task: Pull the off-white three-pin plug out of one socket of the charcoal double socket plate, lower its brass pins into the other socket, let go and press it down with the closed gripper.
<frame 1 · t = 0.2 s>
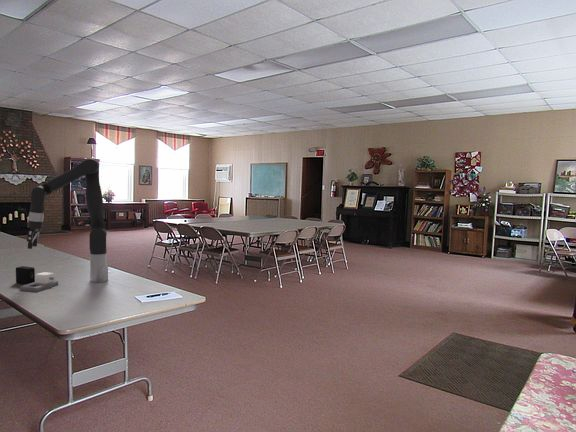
hand: (32, 247, 240), 22 cm above the table, tool pointing down, fingers open, 8 cm apart
plug: (44, 285, 238), resting in socket plate
electronic device: (25, 284, 241), on the table
socket plate: (39, 288, 234), on the table
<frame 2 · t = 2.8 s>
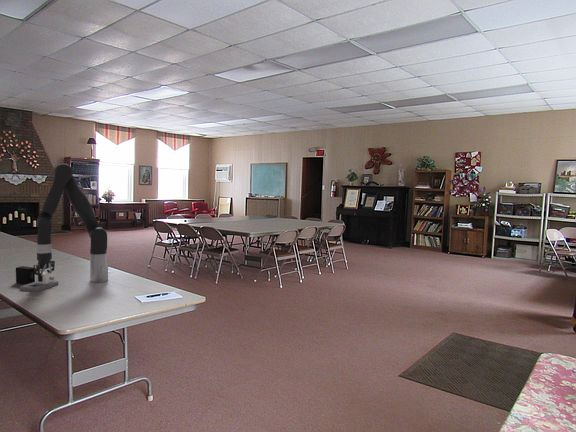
hand: (44, 280, 237), 4 cm above the table, tool pointing down, fingers closed on plug, 6 cm apart
plug: (44, 285, 238), resting in socket plate, touching gripper
everything else where it was.
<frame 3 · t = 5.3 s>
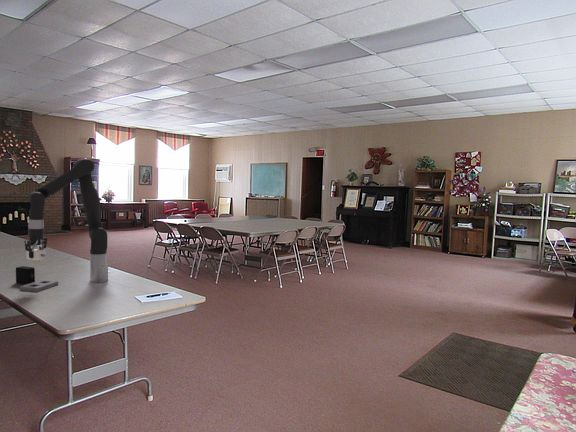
hand: (36, 257, 231), 18 cm above the table, tool pointing down, fingers closed on plug, 6 cm apart
plug: (36, 262, 231), point 15 cm above the table, touching gripper
everything else where it was.
when the fingers open (5 cm above the table, at t = 7.8 s): plug stays where it is, resting on socket plate.
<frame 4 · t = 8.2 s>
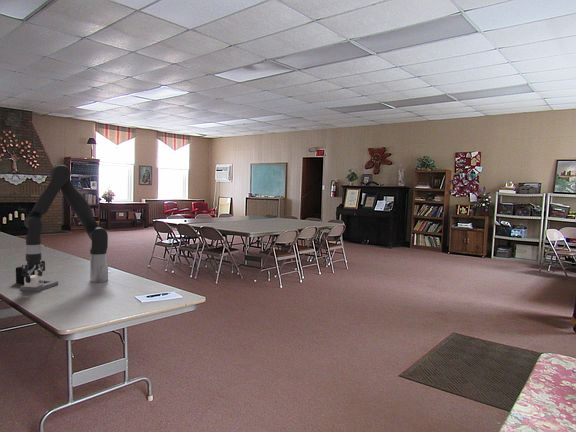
hand: (34, 280, 229), 5 cm above the table, tool pointing down, fingers open, 8 cm apart
plug: (34, 289, 230), resting on socket plate
everything else where it was.
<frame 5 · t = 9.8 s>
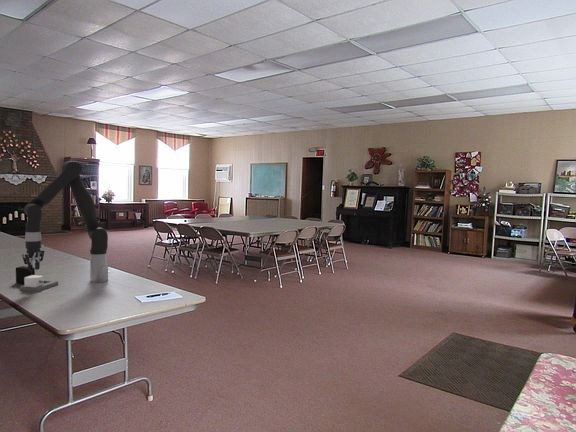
hand: (33, 270, 229), 11 cm above the table, tool pointing down, fingers open, 4 cm apart
nothing on the table moved.
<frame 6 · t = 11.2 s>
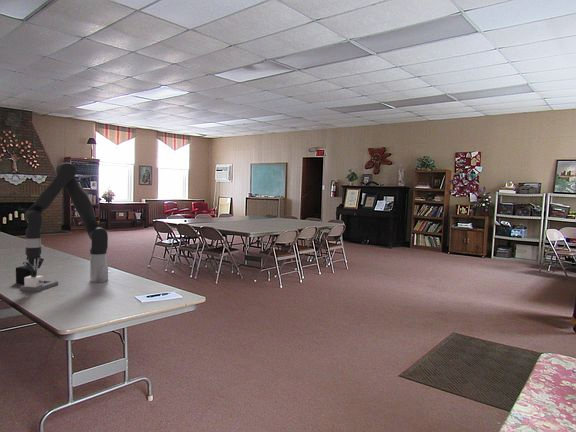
hand: (33, 276, 229), 7 cm above the table, tool pointing down, fingers closed
plug: (34, 289, 230), resting on socket plate, touching gripper
everything else where it was.
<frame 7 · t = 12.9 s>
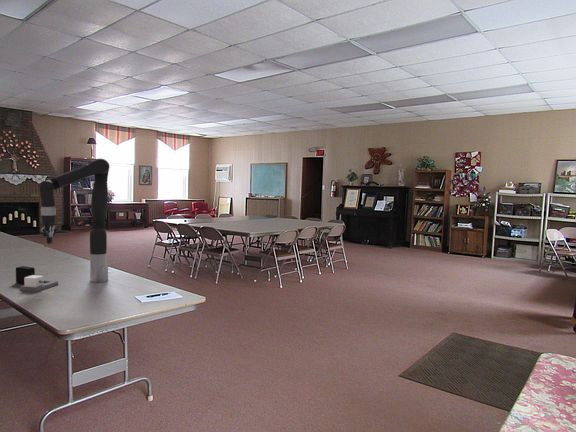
hand: (49, 243, 243), 24 cm above the table, tool pointing down, fingers closed
plug: (34, 289, 230), resting on socket plate
everything else where it was.
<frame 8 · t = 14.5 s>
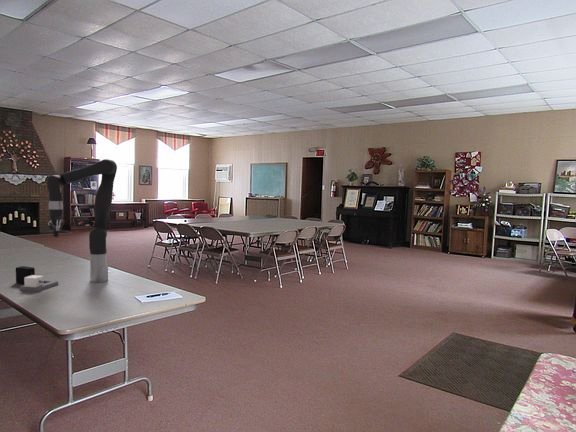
hand: (56, 236, 250), 27 cm above the table, tool pointing down, fingers closed
nothing on the table moved.
at the end: plug 0.0 cm from the target spot on the socket plate, point 0.5 cm above the socket plate's base; plug tilted 0°; the gripper is holding nothing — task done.
